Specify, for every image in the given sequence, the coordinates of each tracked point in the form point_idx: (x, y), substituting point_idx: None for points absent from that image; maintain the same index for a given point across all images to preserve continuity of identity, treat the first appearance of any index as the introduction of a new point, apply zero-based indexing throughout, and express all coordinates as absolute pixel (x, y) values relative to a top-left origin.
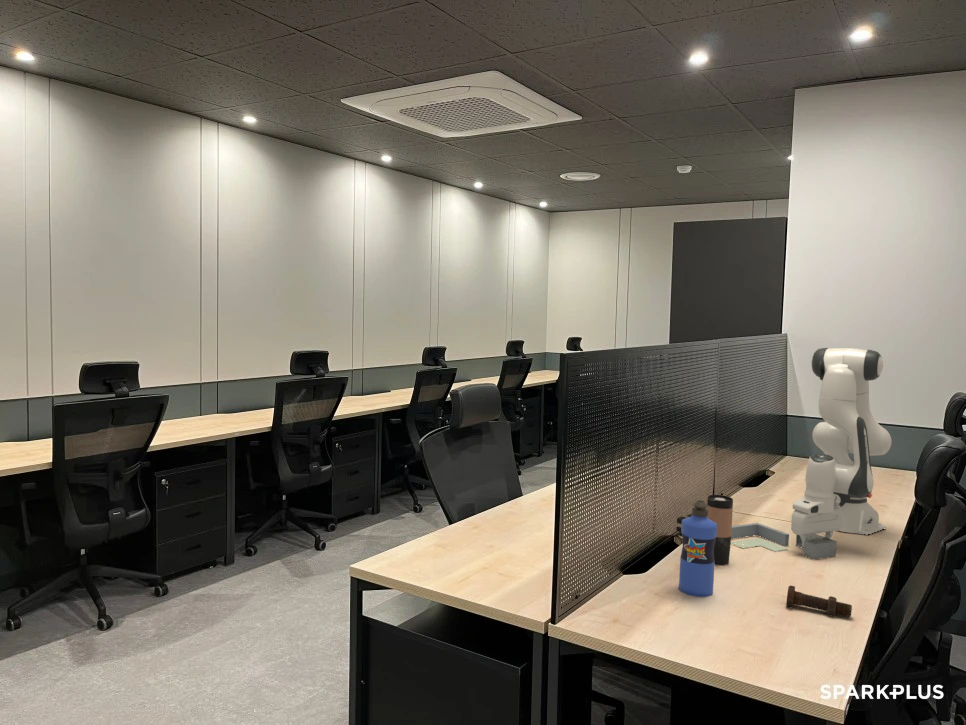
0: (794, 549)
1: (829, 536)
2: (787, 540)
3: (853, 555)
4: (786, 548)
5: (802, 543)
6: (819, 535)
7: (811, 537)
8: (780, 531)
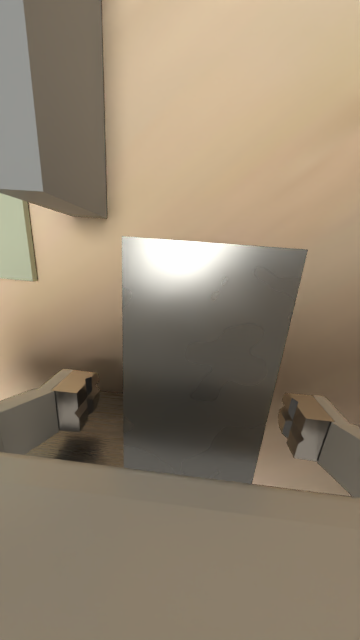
0: (89, 292)
1: (352, 486)
2: (68, 208)
3: (322, 491)
4: (29, 269)
5: (52, 380)
6: (250, 456)
7: (126, 433)
8: (8, 19)
